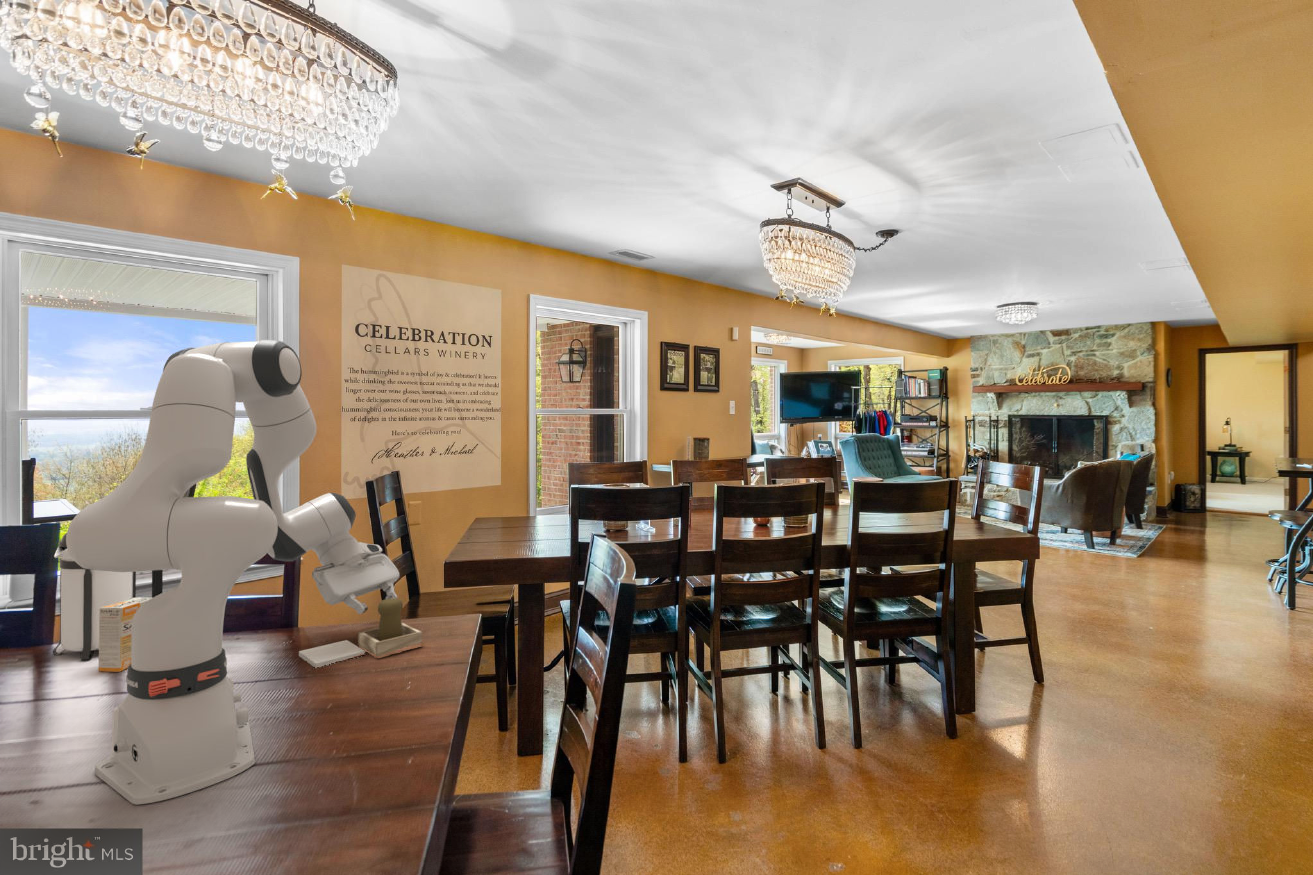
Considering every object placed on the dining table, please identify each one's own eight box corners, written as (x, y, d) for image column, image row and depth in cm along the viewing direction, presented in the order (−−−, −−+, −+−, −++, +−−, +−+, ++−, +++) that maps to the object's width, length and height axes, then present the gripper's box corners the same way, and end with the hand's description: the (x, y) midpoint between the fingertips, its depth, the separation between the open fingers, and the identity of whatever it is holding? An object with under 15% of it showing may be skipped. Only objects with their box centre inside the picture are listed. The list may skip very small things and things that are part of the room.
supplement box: (120, 672, 122) (121, 607, 122) (97, 671, 122) (97, 607, 122) (155, 657, 130) (156, 596, 130) (133, 656, 130) (134, 596, 130)
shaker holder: (421, 647, 138) (422, 631, 138) (377, 659, 131) (377, 643, 131) (401, 636, 145) (401, 622, 145) (358, 647, 138) (358, 632, 138)
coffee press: (131, 656, 130) (132, 518, 130) (34, 666, 124) (35, 521, 124) (163, 631, 146) (164, 508, 146) (78, 639, 140) (79, 510, 140)
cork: (409, 643, 141) (409, 596, 141) (395, 652, 135) (396, 603, 135) (384, 642, 141) (385, 595, 141) (369, 651, 135) (370, 602, 135)
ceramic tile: (364, 655, 133) (364, 650, 133) (315, 668, 125) (315, 663, 125) (346, 644, 140) (346, 639, 140) (298, 655, 132) (298, 651, 132)
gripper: (316, 560, 131) (352, 609, 128) (384, 543, 150) (416, 586, 148) (300, 579, 132) (335, 628, 130) (369, 560, 152) (401, 602, 149)
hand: (379, 605), depth 139 cm, fingers open, 8 cm apart
